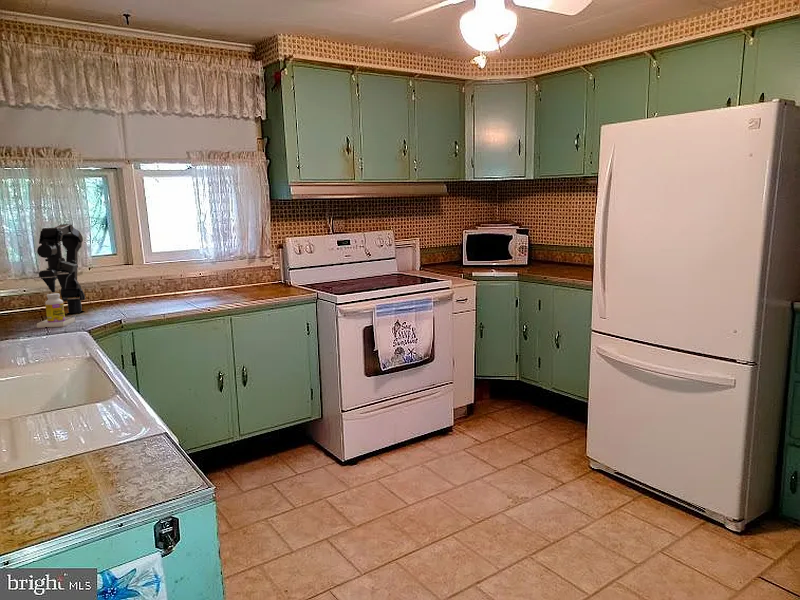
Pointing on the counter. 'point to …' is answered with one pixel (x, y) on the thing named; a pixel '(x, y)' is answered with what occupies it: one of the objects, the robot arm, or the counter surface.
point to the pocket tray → (55, 323)
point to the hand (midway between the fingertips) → (58, 291)
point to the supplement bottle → (54, 308)
